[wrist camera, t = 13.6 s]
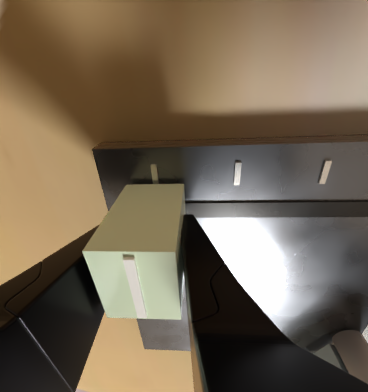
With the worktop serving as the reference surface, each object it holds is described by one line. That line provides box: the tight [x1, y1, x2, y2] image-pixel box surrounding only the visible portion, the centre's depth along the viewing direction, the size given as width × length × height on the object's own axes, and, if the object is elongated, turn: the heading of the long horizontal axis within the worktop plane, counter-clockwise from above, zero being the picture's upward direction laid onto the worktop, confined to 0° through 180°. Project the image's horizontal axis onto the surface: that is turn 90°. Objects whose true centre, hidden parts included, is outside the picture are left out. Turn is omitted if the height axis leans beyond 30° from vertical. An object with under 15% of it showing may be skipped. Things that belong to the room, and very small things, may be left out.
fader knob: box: [82, 184, 186, 320], centre depth 8 cm, size 2×3×4 cm
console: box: [92, 135, 368, 353], centre depth 13 cm, size 15×16×1 cm
